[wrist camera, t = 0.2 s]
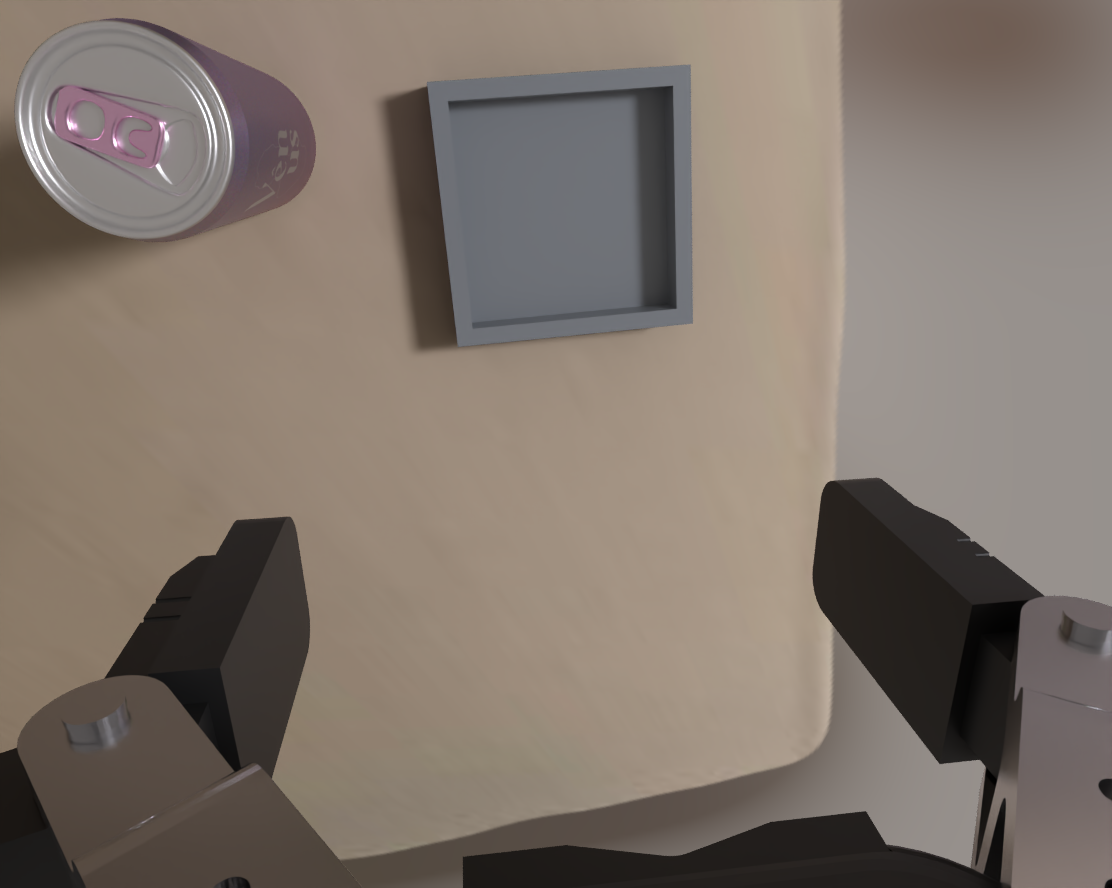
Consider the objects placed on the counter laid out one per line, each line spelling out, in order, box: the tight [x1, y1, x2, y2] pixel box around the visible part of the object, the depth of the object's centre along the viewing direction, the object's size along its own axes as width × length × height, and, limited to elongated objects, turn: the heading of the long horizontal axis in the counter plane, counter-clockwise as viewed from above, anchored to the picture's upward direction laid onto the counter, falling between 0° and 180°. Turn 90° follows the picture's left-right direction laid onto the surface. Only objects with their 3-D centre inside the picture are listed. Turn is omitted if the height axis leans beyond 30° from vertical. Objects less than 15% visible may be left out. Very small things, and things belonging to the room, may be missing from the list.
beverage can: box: [14, 18, 316, 242], centre depth 29 cm, size 6×6×15 cm
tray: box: [427, 65, 693, 347], centre depth 37 cm, size 12×12×2 cm
